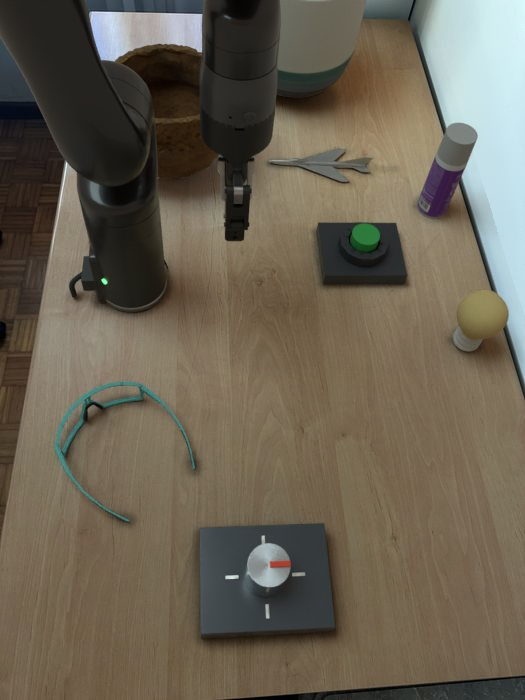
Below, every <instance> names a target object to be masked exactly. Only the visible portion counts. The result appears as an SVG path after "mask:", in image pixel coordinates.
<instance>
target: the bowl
mask: <svg viewBox="0 0 525 700" xmlns="http://www.w3.org/2000/svg"><path fill="white" fill-rule="evenodd" d="M201 61H202V51H198V50H197V49H196V48H193V47H192V46H188V45H182V44H180V45H179V44H176V43H169V44H168V43H164V44H162V43H155V44H148V45H143V46H141V47H135V48H134V49H132V50H128V51H127V52H125V53H124V54H123V55H119V56H118V57H117V58H116V59H114V62H118V63H121V64H123V65H125V66H127V67H129V68H130V69H132V70H133V71H134V72H136V73H137V74H138V75H139V76H140V77H141V78H142V80H143V81H144V82H145V84H146V85H147V87H148V89H149V91H150V93H151V96H152V100H153V105H154V113H155V127H156V142H157V156H158V179H164V178H165V179H172V180H180V179H185V178H190V177H192V176H194V175H196V174H198V173H200V172H202V171H203V170H205V169H207V168H209V167H210V166H211V165H212V164H213V163H214V161H215V159H217V158H218V156H219V154H217V153H216V152H214V151H212V150H211V149H210V148H209V147H208V146H207V145H206V144H205V143H204V141H203V139H202V137H201V133H200V68H201Z"/></svg>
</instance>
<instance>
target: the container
mask: <svg viewBox="0 0 525 700" xmlns="http://www.w3.org/2000/svg"><path fill="white" fill-rule="evenodd" d="M478 136H479V135H478V132H477V130H476V129H475V128H474V127H473V126H471V125H469V124H468V123H464V122H454V123H450V124H449V125H448V126H447V127H446V129H445V131H444V134H443V136H442V138H441V141H440V144H439V146H438V149H437V150H436V152H435V155H434V158H433V161H432V163H431V166H430V169H429V171H428V174H427V176H426V179H425V182H424V185H423V187H422V189H421V192H420V194H419V197H418V200H417V203H416V210H417V211H418V213H419V214H420V215H421V216H422V217H424V218H426V219H430V220H438V219H441V218H442V217H443V218H444V216H445V214H446V212H447V210H448V208H449V206H450V203H451V201H452V199H453V197H454V194H455V192H456V190H457V187H458V186H459V184H460V181H461V178H462V176H463V174H464V172H465V170H466V167H467V165H468V163H469V160H470V157H471V155H472V153H473V150H474V147H475V145H476V143H477V141H478Z"/></svg>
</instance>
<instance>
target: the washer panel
mask: <svg viewBox="0 0 525 700" xmlns="http://www.w3.org/2000/svg"><path fill="white" fill-rule="evenodd" d="M265 543H272V544H276V545H278V546H280V547H282V548H283V549H284V550H285V551H286V553H287V554H288V556H289V558H290V562H291V569H290V573H289V576H288V578H287V580H286V582H285V584H284V586H283V588H282V589H281V591H280V592H279V593H277V594H276V595H274V596H271V597H260V596H258V595H256V594H254V593H253V592H252V591H251V590H250V589H249V588H248V586H247V584H246V580H245V571H246V567H247V562H248V558H249V555H250V554H251V552H252V551H253V550H254V549H255V548H256V547H257V546H259V545H261V544H265ZM328 555H329V554H328V545H327V536H326V528H325V522H319V523H318V522H317V523H294V524H267V525H265V524H262V525H239V526H238V525H237V526H214V527H213V526H211V527H208V526H207V527H199V604H200V605H199V606H200V607H199V609H200V610H199V611H200V615H199V616H200V617H199V618H200V639H217V638H218V639H220V638H238V637H240V638H241V637H257V636H258V637H259V636H278V635H294V634H295V635H296V634H315V633H331V632H332V631H333V630H334V629H336V622H335V621H336V620H335V612H334V603H333V593H332V583H331V573H330V564H329V556H328Z"/></svg>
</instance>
